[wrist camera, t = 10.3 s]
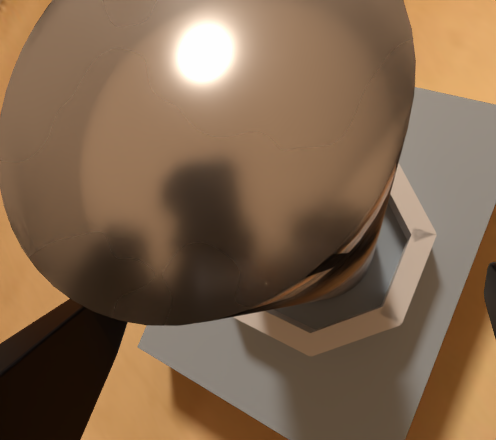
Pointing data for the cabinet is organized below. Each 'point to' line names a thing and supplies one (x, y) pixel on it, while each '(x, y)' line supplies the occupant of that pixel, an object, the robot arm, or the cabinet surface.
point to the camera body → (363, 300)
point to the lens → (205, 150)
